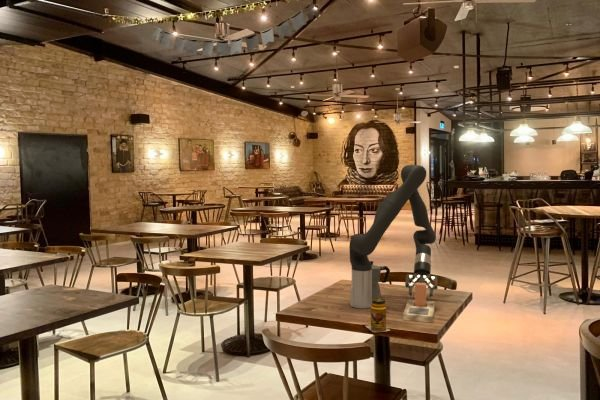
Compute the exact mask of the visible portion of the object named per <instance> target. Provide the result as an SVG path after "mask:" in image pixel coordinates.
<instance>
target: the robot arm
mask: <svg viewBox="0 0 600 400" xmlns="http://www.w3.org/2000/svg"><path fill="white" fill-rule="evenodd" d="M426 178H427V170H426V168H425V167H424V166H423V165H420V164H407V165H405V166H403V167H402V169H401V171H400V179H401V181H402V184H401V185H400V186H399V187H398V188H396V189H395V190H393V191H392V192H391V193H389V194H387V196H386V197H385V198H384V199H383V200H382V201H381V202H380V204H379V206H378V207H377V208H376V212H375V214H374V219H373V222H372V225H371V226H370V227H369V229H368V230H367V231H366V233H365V234H362V233H356V234H354V235H352V236H351V237H350V241H349V249H348V250H349V262H350V265H351V266H350V267H351V285H350V301H349V302H350V307H351V308H356V309H371V306H372V264H371V262H370V261H371V260H370V259H369V256H370V255H371V254H372V253H374V252H375V250H376V248H377V246H378V244H379V242H380V241H381V239H382V237H383V236H384V235H385V233H386V231H387V230H388V228H389V227H390V226H391V224H392V223H393V222H394V220H395V219H396V218H397V216H398V215H399V214H400V212H401V211H402V210H403V207H404V206H405V205H406V204H407V202H409V204H410V208H411V211H412V212H411V213H412V217H413V224H414V226H415V227H419V228H424V229H418V230H415V231H414V233H413V234H412V235H413V237H412V238H413V241H414V244H415V245H414V246H415V258H414V267H413V274H409V273H407V274H406V276H405V282H404V283H405V284H404V285H405V288H408V295H410V296H413V288H414V287H415V284H416V282H418V283H426V287H428V288H429V298H432V297H433V296H434V290H438V275H433V276H432V274H431V272H432V271H431V269H432V259H431V258H432V257H431V256H432V247H430V245H432V244H434V243H435V242H436V239H437V236H436V235H437V234H436V232H435V231H434V229H433V227H432V224H431V222H430V220H429V214H428V209H427V206H426V204H425V202H424V199H423V198H422V197H421V195H420V193H419V190H418V189H419V188H420V186H422V185H423V183H424V182H425V180H426ZM410 280H412V281H411V282H410ZM431 280H432V281H433V282H434V284H432V282H431Z"/></svg>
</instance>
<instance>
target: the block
mask: <svg viewBox="0 0 600 400" xmlns="http://www.w3.org/2000/svg"><path fill="white" fill-rule="evenodd" d="M414 287H415V288H414V300H415V306H421V307H426V301H427V285H426V283H418V282H416V284H415V286H414Z"/></svg>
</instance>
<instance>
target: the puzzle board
mask: <svg viewBox="0 0 600 400" xmlns="http://www.w3.org/2000/svg"><path fill="white" fill-rule="evenodd" d="M435 309H436V302H435V301H433V300H432V301H431V300H426V307H421V306H415V299H408V300H407V302H406V305H405V307H404V310H403V314H402V320H403V321H410V322H421V323H434V322H433V321H434V314H435Z"/></svg>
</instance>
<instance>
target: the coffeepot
mask: <svg viewBox="0 0 600 400" xmlns="http://www.w3.org/2000/svg"><path fill="white" fill-rule="evenodd" d="M369 261H370V262H371V264H372V300H373V299H377V298H379V299H381V298H382V294H381V293H382V292H381V288H380V284H379V281H380V278H381V273H382V271H385V276H384V277H383V280H381V281H380V282H381V283H382V284H384V283H387V280H388V278H389V275H390V272H391V269H390V268H389V267H388V266H386V265H382V266H381V265H376V264H374V261H373V260H369Z"/></svg>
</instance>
